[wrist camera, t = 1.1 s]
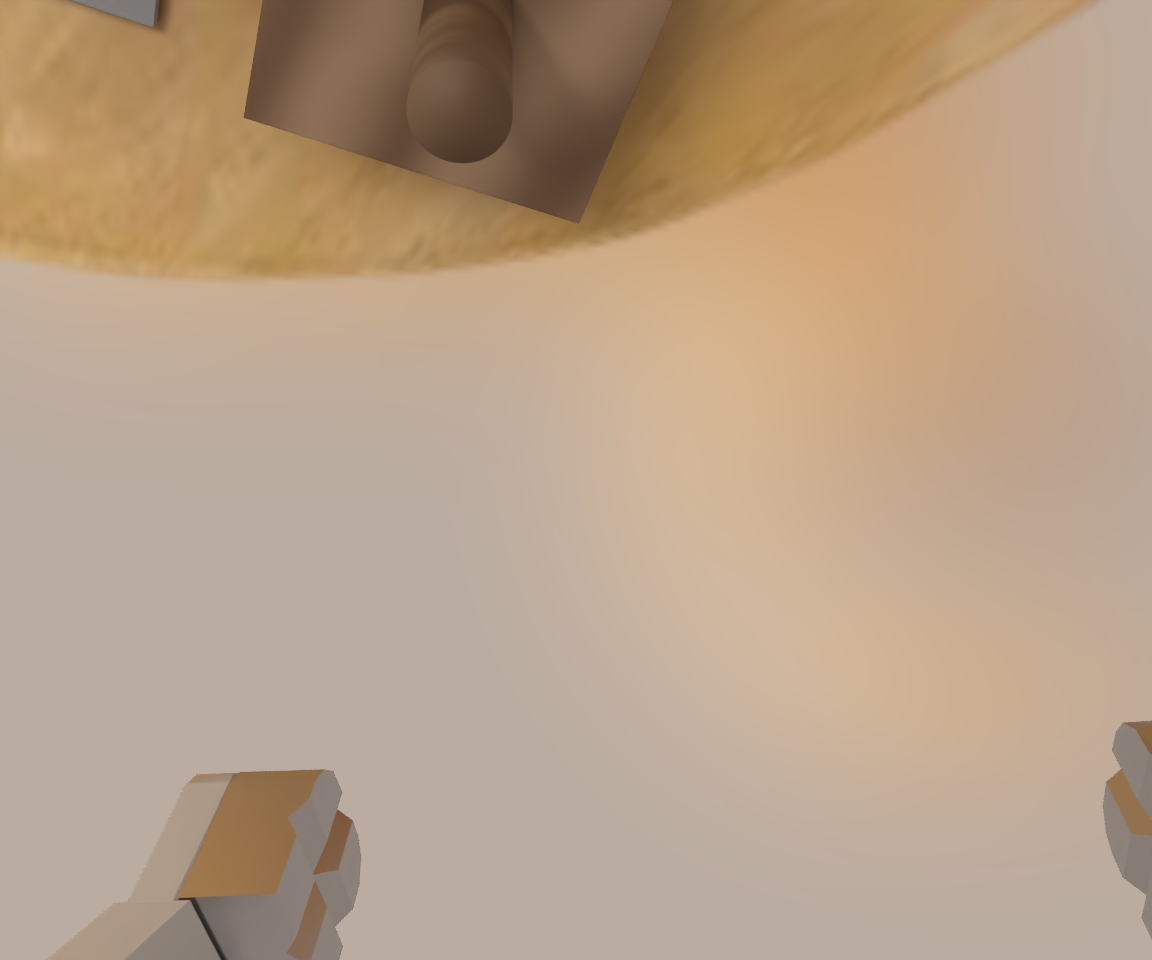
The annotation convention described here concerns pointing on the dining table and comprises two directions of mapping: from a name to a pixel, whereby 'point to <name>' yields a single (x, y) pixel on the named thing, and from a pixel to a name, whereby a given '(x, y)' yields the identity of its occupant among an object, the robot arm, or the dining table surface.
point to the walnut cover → (460, 86)
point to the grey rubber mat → (128, 9)
